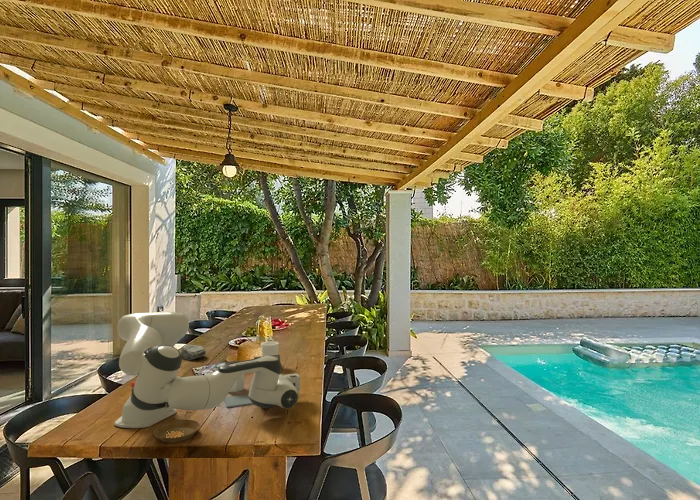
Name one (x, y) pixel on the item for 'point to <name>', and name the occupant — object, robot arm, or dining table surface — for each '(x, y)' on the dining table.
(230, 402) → the mat
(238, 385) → the jar
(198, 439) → the dining table surface
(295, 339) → the dining table surface
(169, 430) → the plant saucer
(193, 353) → the decorative stone
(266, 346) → the foam cup
